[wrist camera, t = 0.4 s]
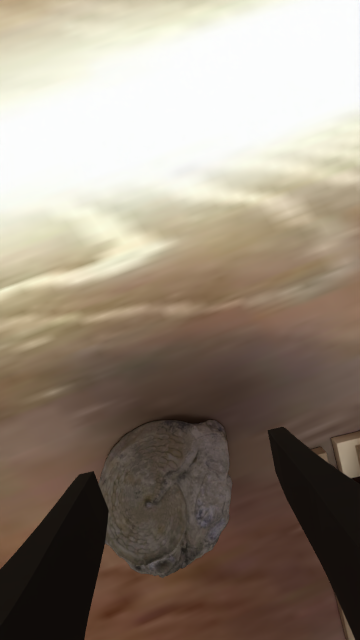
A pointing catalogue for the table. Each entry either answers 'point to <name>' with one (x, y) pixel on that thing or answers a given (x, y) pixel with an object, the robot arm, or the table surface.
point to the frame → (353, 460)
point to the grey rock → (167, 494)
